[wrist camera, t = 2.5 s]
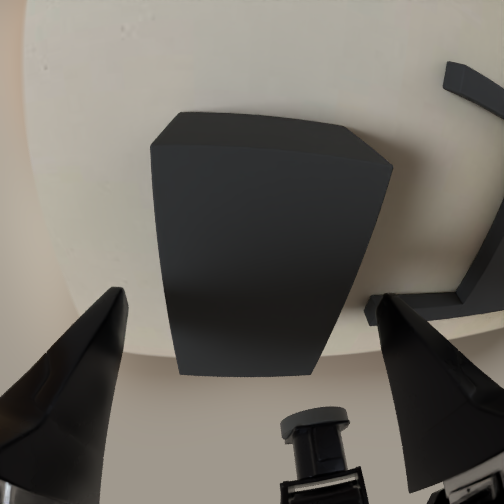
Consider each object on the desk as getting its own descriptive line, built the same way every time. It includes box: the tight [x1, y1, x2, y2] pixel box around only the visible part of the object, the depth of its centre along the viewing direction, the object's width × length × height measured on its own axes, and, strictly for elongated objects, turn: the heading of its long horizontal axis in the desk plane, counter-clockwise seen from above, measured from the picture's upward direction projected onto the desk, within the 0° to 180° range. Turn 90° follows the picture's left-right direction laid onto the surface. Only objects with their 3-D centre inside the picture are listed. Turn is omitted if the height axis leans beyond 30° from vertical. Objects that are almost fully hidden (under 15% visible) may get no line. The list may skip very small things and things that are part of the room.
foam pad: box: [150, 112, 393, 377], centre depth 11 cm, size 10×6×4 cm, turn 175°
